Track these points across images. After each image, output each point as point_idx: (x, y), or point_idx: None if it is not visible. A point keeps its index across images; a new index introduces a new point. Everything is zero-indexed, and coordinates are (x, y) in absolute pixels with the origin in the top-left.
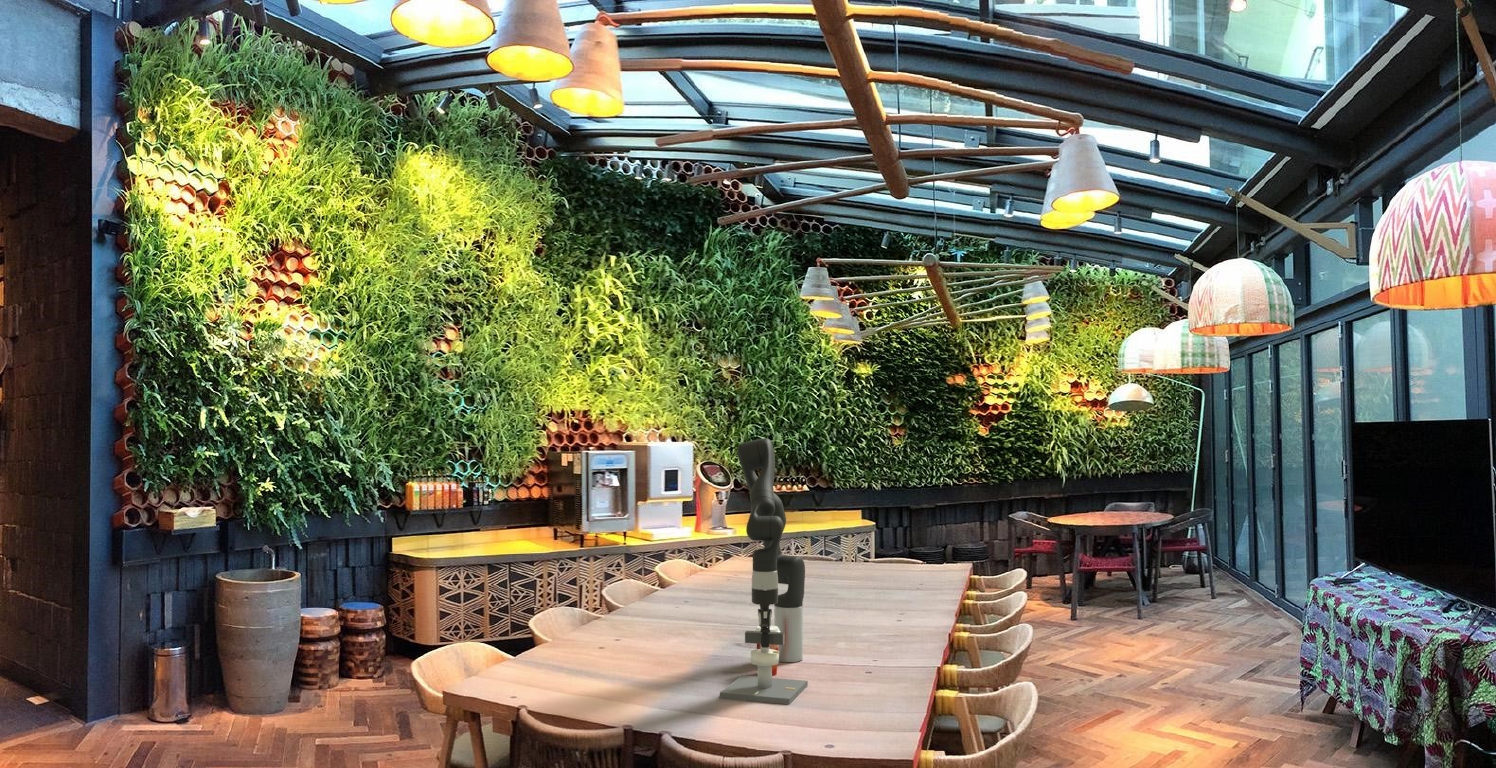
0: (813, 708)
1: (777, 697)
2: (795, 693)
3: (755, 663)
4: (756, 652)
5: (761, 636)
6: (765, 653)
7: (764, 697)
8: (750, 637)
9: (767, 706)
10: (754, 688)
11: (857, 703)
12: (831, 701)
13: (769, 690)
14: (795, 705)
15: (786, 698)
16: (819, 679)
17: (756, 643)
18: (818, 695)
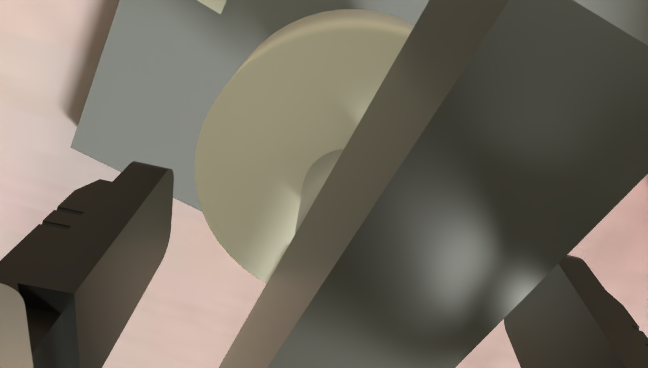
0: (27, 216)
1: (93, 92)
2: (188, 202)
3: (268, 39)
4: (347, 99)
5: (47, 255)
6: (276, 181)
7: (115, 18)
8: (412, 86)
9: (40, 9)
10: (314, 2)
11: (111, 365)
12: (140, 303)
13: None
14: (71, 157)
15: (76, 134)
16: (485, 354)
17: (347, 144)
18: (235, 286)
